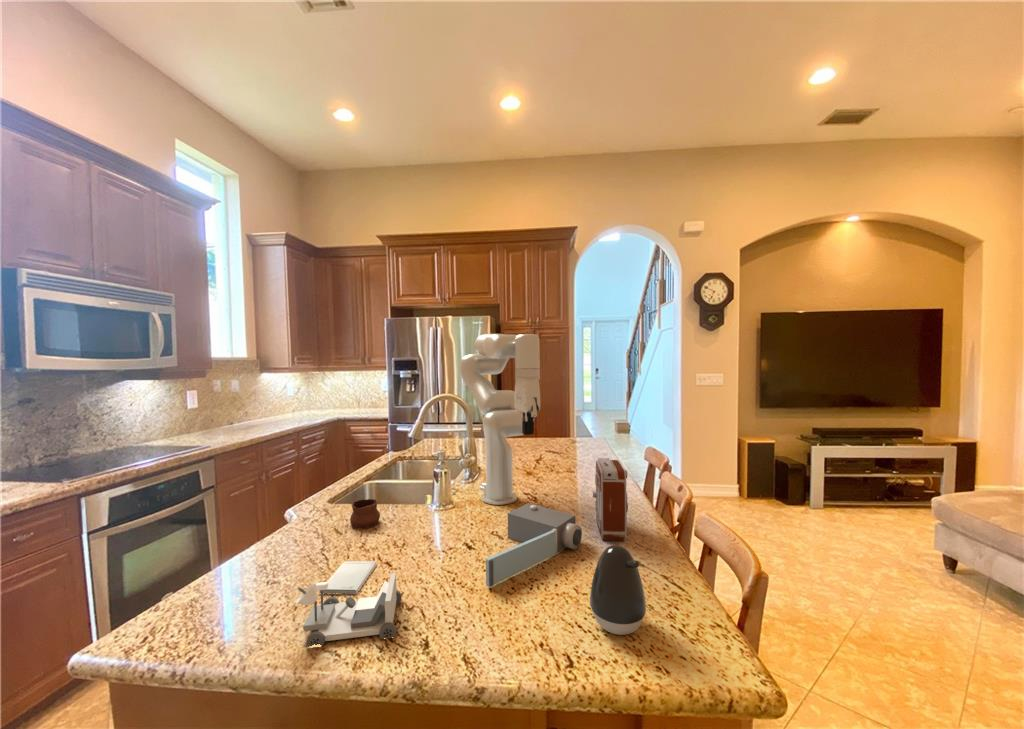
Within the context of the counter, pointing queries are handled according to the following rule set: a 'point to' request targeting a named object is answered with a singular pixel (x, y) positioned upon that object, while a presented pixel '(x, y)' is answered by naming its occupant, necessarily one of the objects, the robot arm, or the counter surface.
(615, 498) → the cine camera
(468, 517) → the counter surface
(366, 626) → the toy car
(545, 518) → the block
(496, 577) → the side door
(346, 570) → the hard drive
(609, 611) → the dark grey egg-shaped piece
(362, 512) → the ceramic pot
